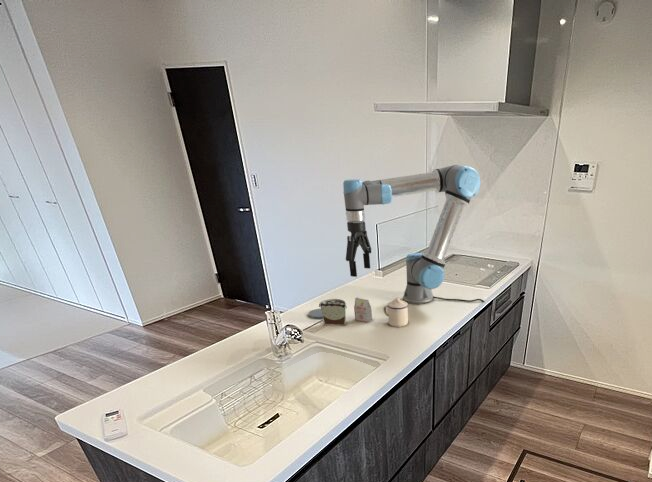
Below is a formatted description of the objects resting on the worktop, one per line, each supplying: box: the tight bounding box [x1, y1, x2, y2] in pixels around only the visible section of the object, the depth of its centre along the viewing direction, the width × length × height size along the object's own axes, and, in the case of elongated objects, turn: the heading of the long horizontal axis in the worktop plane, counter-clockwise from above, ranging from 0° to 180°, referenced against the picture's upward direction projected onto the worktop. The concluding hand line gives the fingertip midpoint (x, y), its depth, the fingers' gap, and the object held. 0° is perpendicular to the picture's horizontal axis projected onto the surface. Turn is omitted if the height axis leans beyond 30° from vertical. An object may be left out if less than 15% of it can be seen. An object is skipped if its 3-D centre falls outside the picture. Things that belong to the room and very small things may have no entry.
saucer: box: [308, 308, 323, 320], centre depth 201 cm, size 11×11×1 cm
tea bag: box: [353, 297, 373, 323], centre depth 194 cm, size 4×7×10 cm, turn 64°
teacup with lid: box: [383, 297, 409, 328], centre depth 191 cm, size 12×9×12 cm
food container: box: [318, 298, 348, 326], centre depth 191 cm, size 12×6×10 cm, turn 84°
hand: (360, 272), depth 190 cm, fingers open, 13 cm apart
